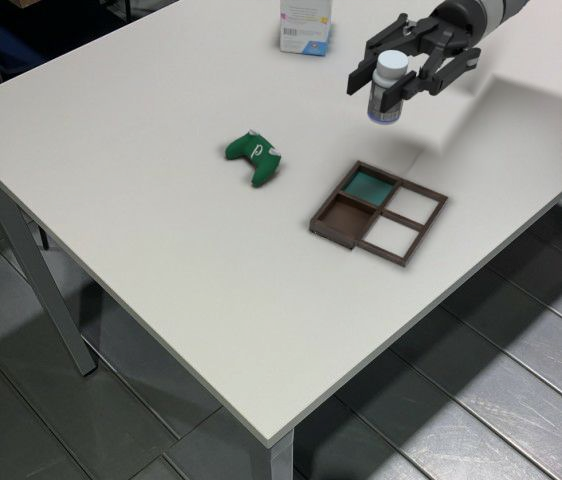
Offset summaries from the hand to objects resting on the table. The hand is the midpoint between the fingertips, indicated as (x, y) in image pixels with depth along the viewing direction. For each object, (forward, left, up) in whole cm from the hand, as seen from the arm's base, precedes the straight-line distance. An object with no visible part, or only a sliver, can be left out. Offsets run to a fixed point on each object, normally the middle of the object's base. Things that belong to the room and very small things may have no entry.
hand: (366, 94), depth 80 cm
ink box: (+27, -33, -18) cm, 46 cm away
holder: (-5, +1, -18) cm, 19 cm away
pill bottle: (-1, -5, -6) cm, 8 cm away
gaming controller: (+17, +1, -18) cm, 25 cm away
